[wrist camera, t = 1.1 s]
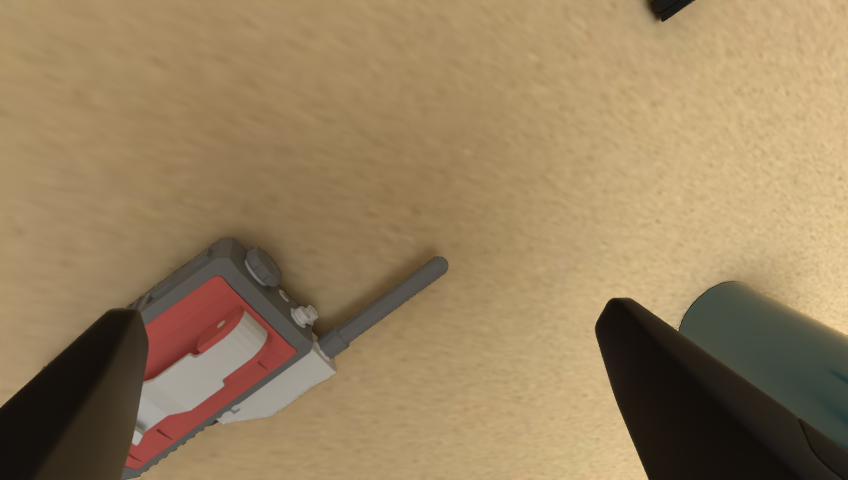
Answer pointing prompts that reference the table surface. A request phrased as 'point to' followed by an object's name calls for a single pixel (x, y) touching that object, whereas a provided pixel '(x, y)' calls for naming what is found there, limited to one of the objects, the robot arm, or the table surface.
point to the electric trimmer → (669, 7)
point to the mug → (776, 352)
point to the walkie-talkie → (236, 346)
